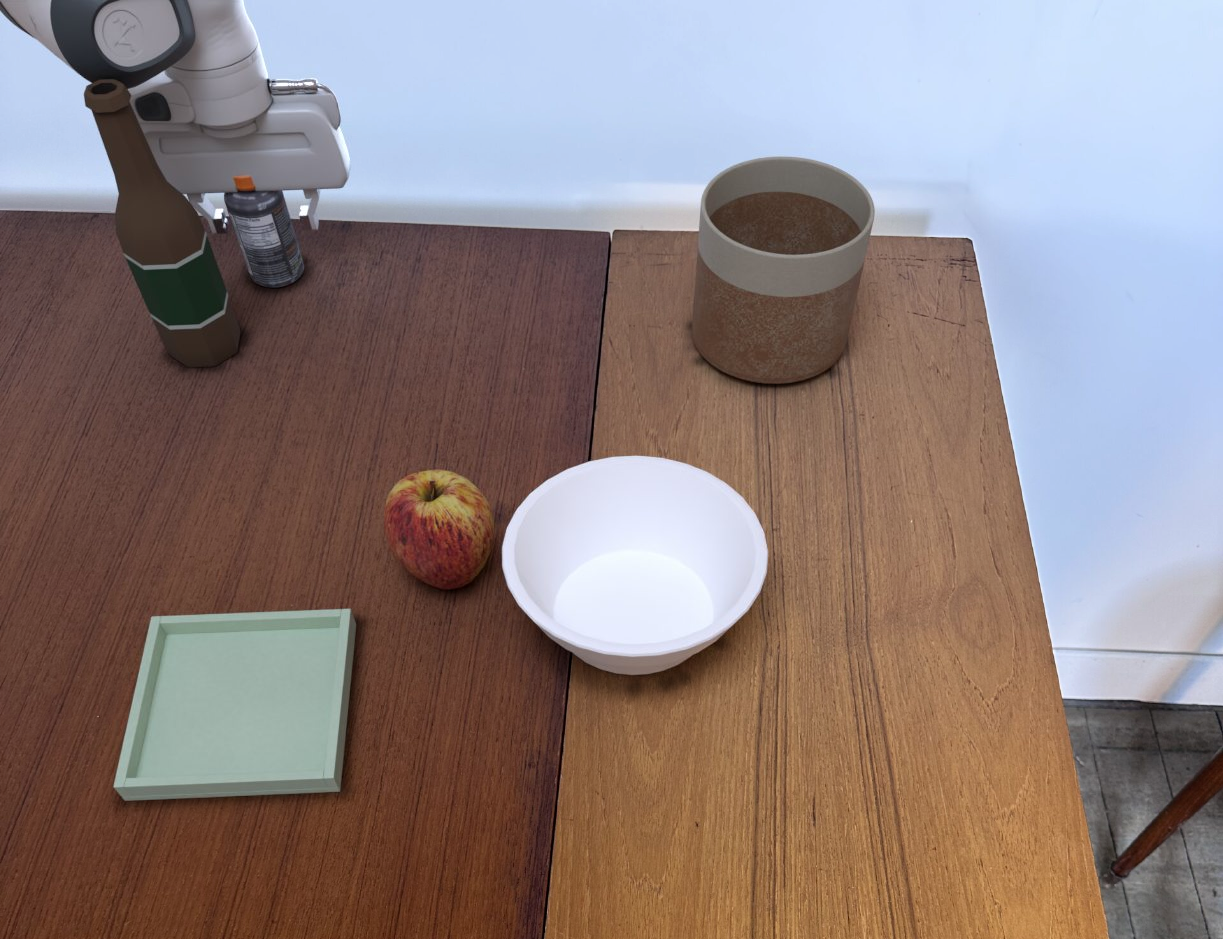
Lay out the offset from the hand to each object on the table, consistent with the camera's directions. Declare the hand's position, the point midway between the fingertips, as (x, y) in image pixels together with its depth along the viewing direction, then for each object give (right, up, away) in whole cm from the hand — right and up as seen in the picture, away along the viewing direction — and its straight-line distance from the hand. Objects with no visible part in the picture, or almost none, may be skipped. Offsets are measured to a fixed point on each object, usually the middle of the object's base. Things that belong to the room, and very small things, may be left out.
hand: (266, 229), depth 106 cm
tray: (+6, -53, -24) cm, 58 cm away
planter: (+52, -12, -1) cm, 54 cm away
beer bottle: (-6, -13, -2) cm, 14 cm away
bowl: (+38, -45, -19) cm, 62 cm away
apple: (+22, -40, -17) cm, 48 cm away
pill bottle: (0, -2, +4) cm, 5 cm away
